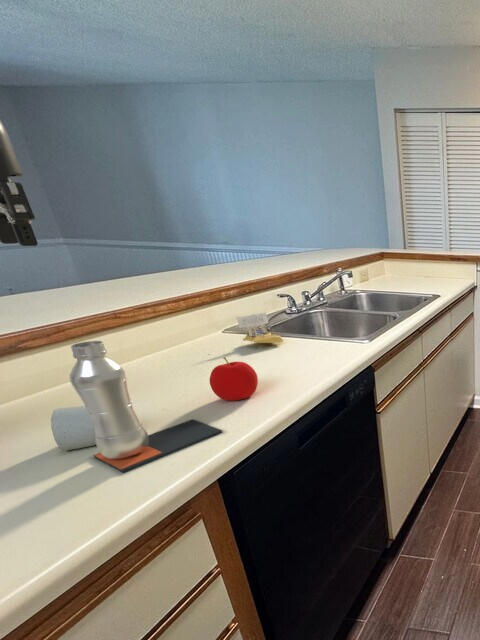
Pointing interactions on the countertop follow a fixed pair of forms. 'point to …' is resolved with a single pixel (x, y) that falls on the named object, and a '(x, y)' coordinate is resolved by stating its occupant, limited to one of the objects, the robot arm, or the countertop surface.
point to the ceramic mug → (72, 428)
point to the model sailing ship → (259, 336)
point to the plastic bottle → (107, 401)
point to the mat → (163, 444)
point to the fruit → (233, 381)
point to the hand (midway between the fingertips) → (19, 244)
